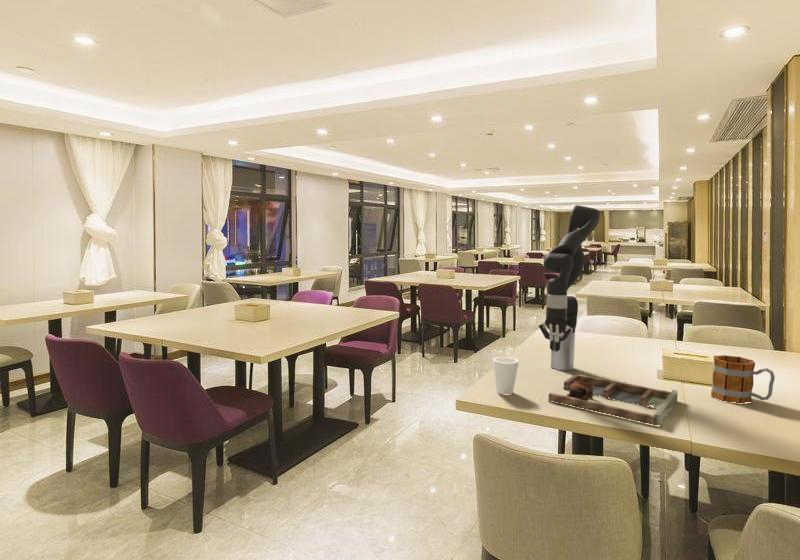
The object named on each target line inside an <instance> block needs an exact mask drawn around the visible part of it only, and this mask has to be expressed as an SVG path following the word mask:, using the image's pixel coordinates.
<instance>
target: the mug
mask: <svg viewBox="0 0 800 560" xmlns="http://www.w3.org/2000/svg"><path fill="white" fill-rule="evenodd" d="M713 362H714V363H713V371H712V377H711V378H712V384H711V385H712V386H711V392H710V395H711V398H712V397H713V398H712V399H715V398H716V399H715V400H717V399H719V400H718V401H720V400H722V401H721V402H723V401H727V402H736V403H745V402H753V401H752V397H753V398H756V399H758V400H761V401H766V400H769V399H770V398H771V397H772V395H773V391H774V390H773V389H774V383H775V378H776V377H775V373H774V371H773V370H771V369H769V368H760V369H758V370H756V371H755V365H756V362H755V361H754V360H753V359H749V358H745V357H741V356H735V355H726V354H721V355H713ZM763 372H767V373H768V374H770V379H769V384H768V391H767V394H766V396H761V395H759V394H757V393H754V392H753V387H754V375H756V376H758V375H760V374H762V373H763ZM727 402H726V403H727Z"/></svg>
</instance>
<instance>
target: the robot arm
mask: <svg viewBox="0 0 800 560" xmlns="http://www.w3.org/2000/svg"><path fill="white" fill-rule="evenodd" d="M600 216H601V212H600V211H599V210H598V209H596V208H594V207H587V206H583V205H576V204H575V205H574V206H573V208H572V209H571V212H570V215H569V221H568V226H567V227H568V228H567V233H566V234H565V236H563V238H562V239H561V241H560V242H559V244H558V245H557V246H555V247H554V248H553V249H551V250H550V251H548V253H547V254H546V255H545V257H544V259H543V266H544V269H545V270H546V271H547V272H550V273H559V274H558V277H555V278H550V279H549V280H548V282H547V297H546V302H545V304H546V308H545V309H546V310H545V311H546V312H545V321H544V322H543V323H541V324H539V325H538V327H539V330H540V331H541V333H542V335H543V337H544V338H545V339H546V340H549V349H550V351H551V353H550V368H553V369H554V370H558V371H565V372H566V371H573V370H574V366H575V363H574V361H575V343H576V342H575V341H576V328H577V324H578V323H577V322H578V314H579V313H578V312H579V303H578V300H577V298H576V297H575V296H572V295H570V296H569V295H568V291H569V289H570V287H571V286H572V285H573V284H574V283H575V282H576V281H577V280H578V279H579V278H580V277H581V276H582V273H583V270H584V267H585V266H584V265H585V261H586V256H585V254H584V250H583V248H582V246H581V245H582V244H583V242H584V241H585V240H586V239H587V238H588V237H590V235H591V234H592V233H593V232H594V231H595V230H596V228H597V227H598V224H599V221H600V219H601V218H600Z"/></svg>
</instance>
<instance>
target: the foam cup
mask: <svg viewBox="0 0 800 560" xmlns="http://www.w3.org/2000/svg"><path fill="white" fill-rule="evenodd" d="M492 366H493V371H494V381H495V390H496V394H498V393H500V394H512V393H513V394H514V390H515V384H516V379H517V371H518V368H519V360H518V359H517V358H515V357H509V356H497V357H494V358H493V365H492ZM500 394H499V395H500ZM513 394H512V395H513Z"/></svg>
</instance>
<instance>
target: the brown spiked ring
mask: <svg viewBox="0 0 800 560" xmlns="http://www.w3.org/2000/svg"><path fill="white" fill-rule="evenodd" d="M569 387H570V390H569V393H567V394H566V396H568V397H573V398H577V399H582V400H586V401H589V400H593V398H594V395H593V387H592V386H591V385H589V384H587V383H585V382H581V381H577V380H574V381H573V383H572V384H570V385H569ZM580 391H581V392H580ZM590 398H591V399H590Z"/></svg>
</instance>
